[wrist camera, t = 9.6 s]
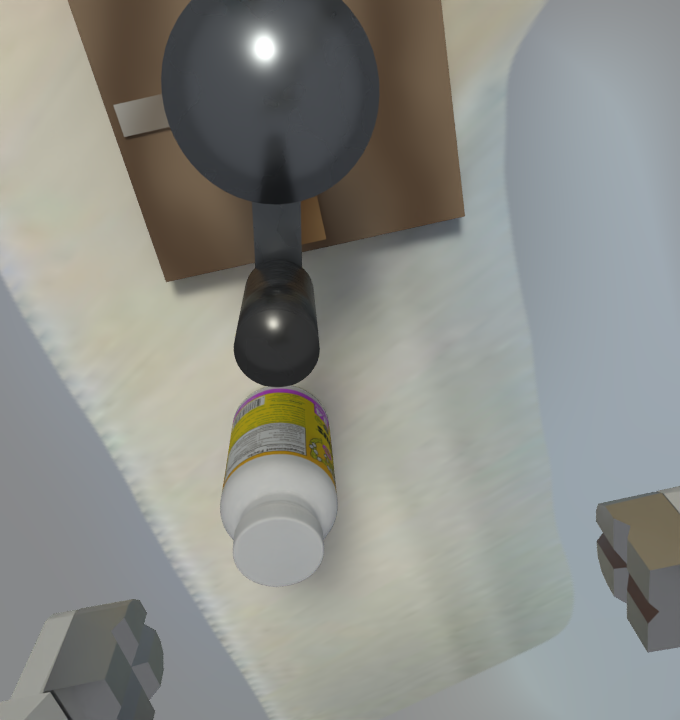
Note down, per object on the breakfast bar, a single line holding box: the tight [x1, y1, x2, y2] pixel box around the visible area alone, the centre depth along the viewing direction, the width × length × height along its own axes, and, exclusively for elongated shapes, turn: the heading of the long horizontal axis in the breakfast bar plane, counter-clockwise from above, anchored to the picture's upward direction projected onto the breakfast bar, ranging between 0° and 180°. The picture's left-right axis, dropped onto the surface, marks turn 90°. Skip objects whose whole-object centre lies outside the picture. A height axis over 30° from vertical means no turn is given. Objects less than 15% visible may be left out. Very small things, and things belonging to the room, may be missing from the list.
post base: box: [68, 0, 465, 282], centre depth 29 cm, size 18×18×9 cm
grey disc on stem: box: [161, 0, 380, 387], centre depth 23 cm, size 14×8×8 cm, turn 0°
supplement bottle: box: [220, 386, 338, 587], centre depth 37 cm, size 7×7×13 cm
